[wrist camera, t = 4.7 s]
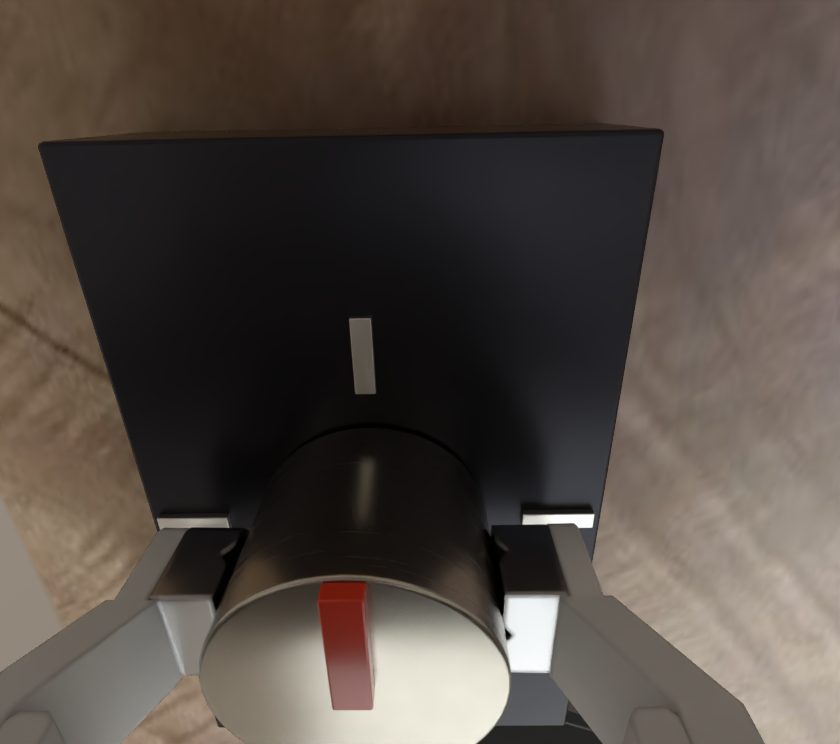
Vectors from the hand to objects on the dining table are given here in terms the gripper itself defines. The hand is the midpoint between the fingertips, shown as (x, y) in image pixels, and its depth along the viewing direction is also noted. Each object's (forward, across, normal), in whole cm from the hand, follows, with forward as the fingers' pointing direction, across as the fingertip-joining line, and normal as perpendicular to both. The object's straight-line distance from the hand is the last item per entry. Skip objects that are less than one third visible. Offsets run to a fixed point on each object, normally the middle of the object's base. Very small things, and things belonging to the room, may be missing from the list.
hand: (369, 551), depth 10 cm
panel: (+4, 0, 0) cm, 4 cm away
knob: (+1, 0, 0) cm, 1 cm away
